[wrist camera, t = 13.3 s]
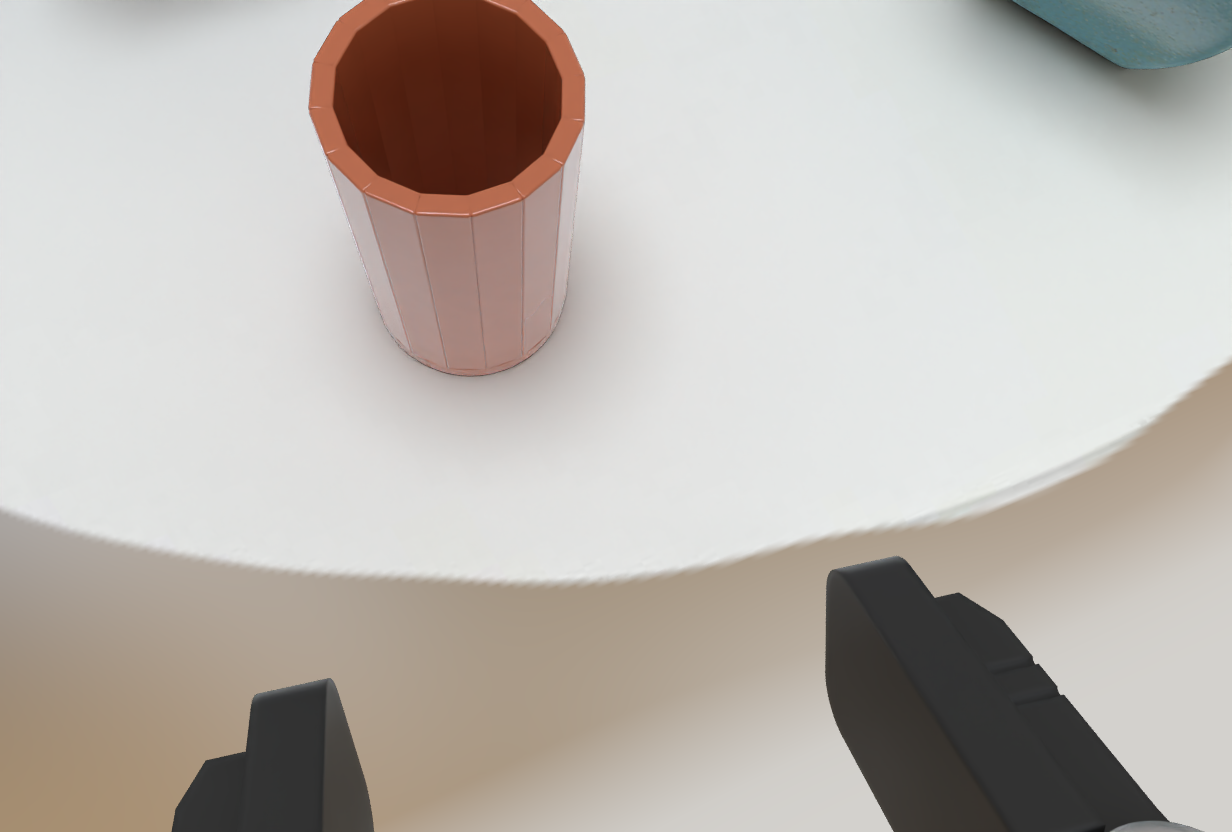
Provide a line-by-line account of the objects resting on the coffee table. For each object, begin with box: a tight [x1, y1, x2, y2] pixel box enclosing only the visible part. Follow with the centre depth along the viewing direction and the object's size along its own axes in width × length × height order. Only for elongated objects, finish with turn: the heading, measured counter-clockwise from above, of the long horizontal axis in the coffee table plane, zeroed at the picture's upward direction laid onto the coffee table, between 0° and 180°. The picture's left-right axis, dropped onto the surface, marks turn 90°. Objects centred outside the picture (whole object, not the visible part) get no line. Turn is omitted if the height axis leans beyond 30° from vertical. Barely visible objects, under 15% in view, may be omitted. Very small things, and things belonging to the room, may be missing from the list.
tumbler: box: [308, 0, 585, 376], centre depth 24 cm, size 5×5×10 cm
